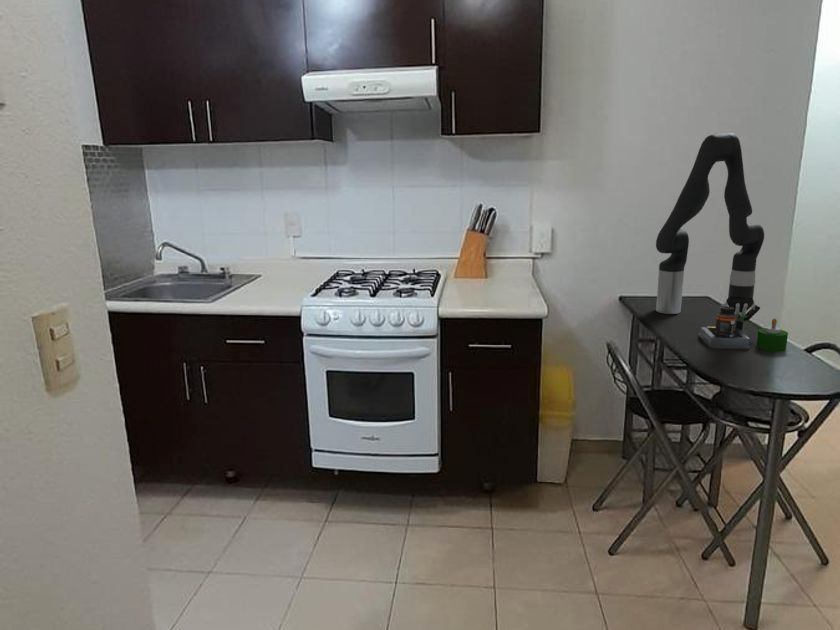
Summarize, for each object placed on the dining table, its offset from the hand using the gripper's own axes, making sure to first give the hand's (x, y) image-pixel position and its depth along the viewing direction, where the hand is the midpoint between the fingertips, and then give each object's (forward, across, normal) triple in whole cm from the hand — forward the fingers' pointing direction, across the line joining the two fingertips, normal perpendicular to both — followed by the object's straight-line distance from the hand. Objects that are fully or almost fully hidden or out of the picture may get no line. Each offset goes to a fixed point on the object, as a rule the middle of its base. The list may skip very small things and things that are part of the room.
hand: (736, 331), depth 204 cm
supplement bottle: (+1, +7, +9) cm, 11 cm away
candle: (+2, -6, +13) cm, 15 cm away
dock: (+2, +7, +8) cm, 11 cm away
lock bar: (+2, +6, 0) cm, 6 cm away
